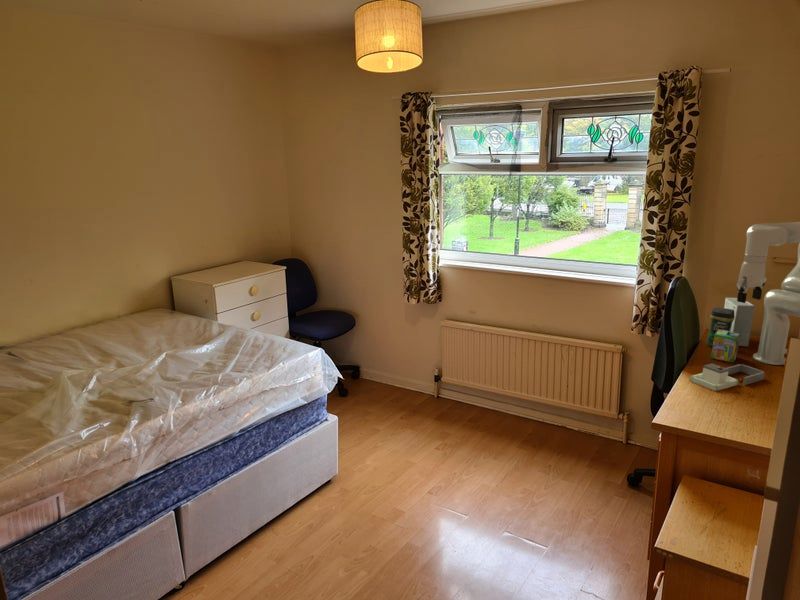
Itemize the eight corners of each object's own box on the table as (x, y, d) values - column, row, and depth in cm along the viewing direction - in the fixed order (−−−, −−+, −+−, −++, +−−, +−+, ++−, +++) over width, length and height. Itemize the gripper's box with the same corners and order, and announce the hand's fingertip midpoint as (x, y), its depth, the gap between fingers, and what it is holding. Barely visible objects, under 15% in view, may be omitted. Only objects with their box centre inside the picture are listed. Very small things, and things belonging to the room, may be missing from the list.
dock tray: (711, 374, 224) (711, 370, 223) (737, 384, 214) (738, 380, 213) (689, 380, 218) (690, 376, 218) (715, 391, 208) (716, 386, 208)
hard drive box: (748, 347, 254) (755, 306, 249) (730, 346, 256) (737, 305, 251) (736, 336, 269) (742, 297, 264) (719, 335, 271) (724, 296, 265)
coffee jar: (704, 346, 256) (710, 308, 251) (707, 341, 262) (713, 304, 257) (728, 350, 250) (734, 311, 246) (730, 345, 256) (736, 307, 252)
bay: (739, 370, 228) (741, 363, 227) (764, 379, 219) (766, 372, 218) (720, 376, 222) (721, 369, 222) (744, 385, 213) (745, 378, 213)
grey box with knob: (709, 377, 220) (712, 361, 218) (726, 383, 214) (728, 367, 212) (701, 379, 218) (703, 364, 216) (718, 385, 212) (720, 370, 210)
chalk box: (713, 352, 248) (718, 321, 244) (737, 357, 242) (742, 325, 238) (709, 358, 241) (714, 327, 237) (733, 363, 235) (738, 330, 232)
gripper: (759, 255, 224) (752, 295, 228) (732, 259, 216) (726, 301, 221) (778, 258, 217) (771, 299, 222) (750, 263, 210) (744, 305, 214)
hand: (748, 300), depth 221 cm, fingers open, 9 cm apart
